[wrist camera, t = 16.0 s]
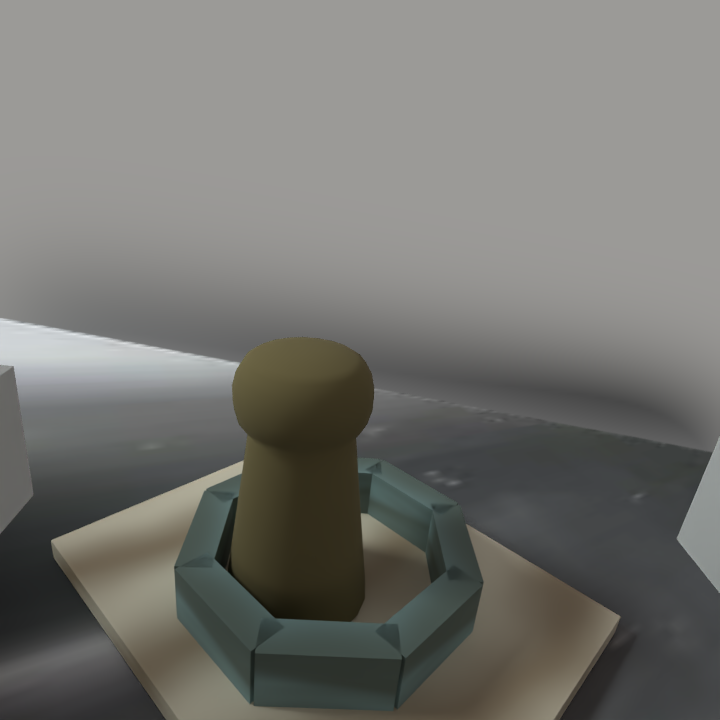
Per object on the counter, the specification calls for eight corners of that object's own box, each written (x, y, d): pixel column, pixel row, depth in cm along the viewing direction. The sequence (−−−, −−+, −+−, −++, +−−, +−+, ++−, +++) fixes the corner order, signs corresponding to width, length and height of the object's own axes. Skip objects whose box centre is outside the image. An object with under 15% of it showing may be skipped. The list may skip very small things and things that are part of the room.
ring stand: (53, 557, 25) (43, 494, 24) (311, 444, 36) (315, 397, 35) (370, 1015, 13) (386, 937, 12) (614, 633, 24) (636, 571, 23)
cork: (245, 666, 20) (243, 393, 16) (211, 556, 25) (203, 327, 21) (390, 616, 22) (421, 371, 18) (333, 525, 27) (347, 317, 23)
